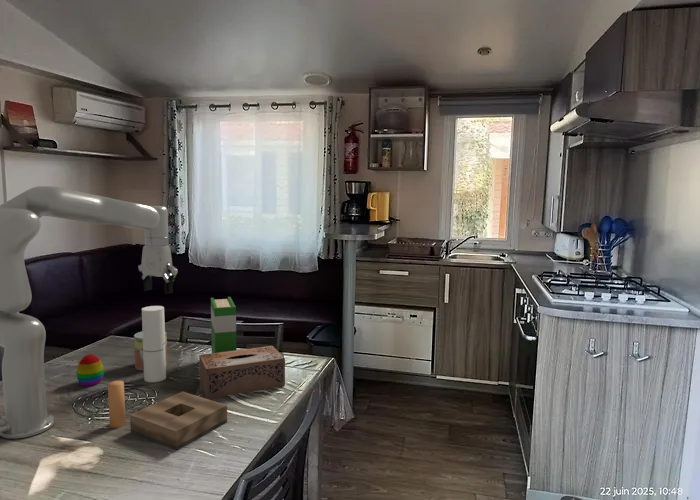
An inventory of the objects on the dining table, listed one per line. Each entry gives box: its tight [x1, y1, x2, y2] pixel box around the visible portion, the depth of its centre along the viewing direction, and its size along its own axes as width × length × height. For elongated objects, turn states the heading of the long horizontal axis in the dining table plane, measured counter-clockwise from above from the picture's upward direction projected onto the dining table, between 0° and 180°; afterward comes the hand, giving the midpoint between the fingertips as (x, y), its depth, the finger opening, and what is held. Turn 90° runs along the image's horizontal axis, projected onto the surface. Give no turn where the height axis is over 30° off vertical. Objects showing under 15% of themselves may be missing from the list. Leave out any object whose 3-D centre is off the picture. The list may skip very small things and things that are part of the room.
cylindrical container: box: [141, 305, 167, 383], centre depth 169 cm, size 7×7×25 cm
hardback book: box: [210, 296, 237, 353], centre depth 184 cm, size 18×7×24 cm, turn 20°
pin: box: [107, 380, 126, 429], centre depth 137 cm, size 4×4×12 cm
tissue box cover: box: [198, 345, 286, 399], centre depth 166 cm, size 26×14×10 cm, turn 116°
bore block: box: [129, 391, 228, 451], centre depth 136 cm, size 18×18×5 cm
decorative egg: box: [76, 353, 105, 387], centre depth 165 cm, size 8×8×10 cm
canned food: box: [133, 330, 168, 371], centre depth 183 cm, size 11×11×12 cm
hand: (158, 291), depth 168 cm, fingers open, 9 cm apart
